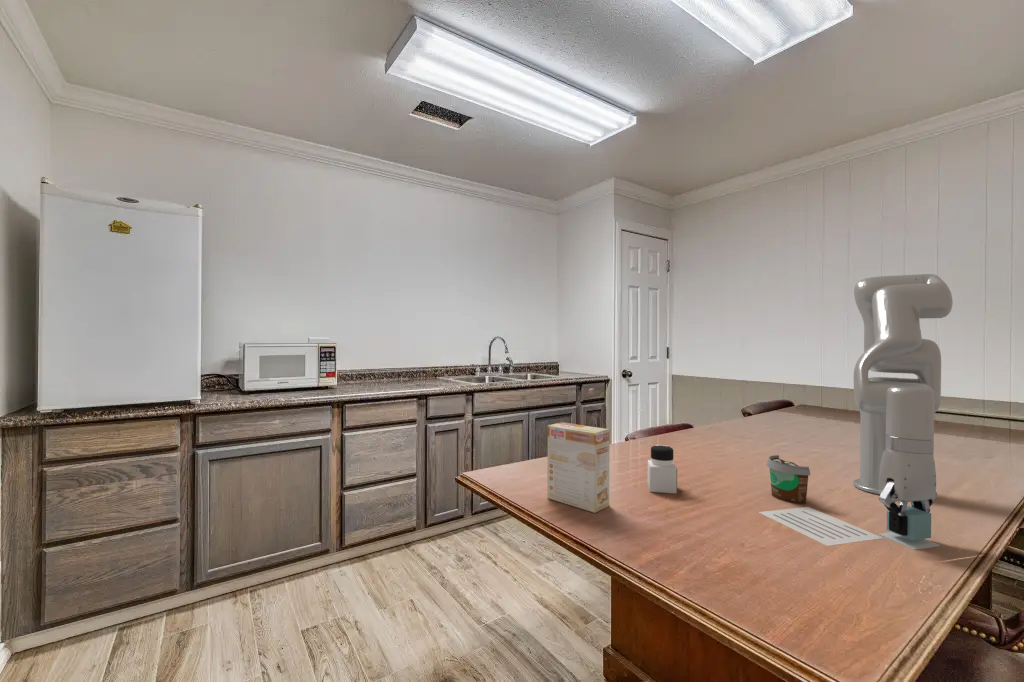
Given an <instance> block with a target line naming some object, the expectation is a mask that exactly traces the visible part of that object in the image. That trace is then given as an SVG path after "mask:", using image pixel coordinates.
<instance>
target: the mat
mask: <svg viewBox="0 0 1024 682" xmlns="http://www.w3.org/2000/svg"><path fill="white" fill-rule="evenodd" d="M877 536H880V537H882V538H883V539H887V540H890V541H891V542H895V543H897V544H899V545H902V546H904V547H907V548H909V549H911V550H914V551H916V550H922V549H930V548H936V547H940V546H941V545H940V544H938V543H936V542H934V541H931V540H928V539H927V538H926V539H919V540H911V539H908V538H906V537H903V536H901V535H898V534H896V533H893V532H891V531H889V532H882V533H878V534H877Z"/></svg>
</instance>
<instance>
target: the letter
mask: <svg viewBox="0 0 1024 682" xmlns="http://www.w3.org/2000/svg"><path fill="white" fill-rule="evenodd" d="M758 513H759V514H761V515H763V516H765V517H767V518H769V519H771V520H774V521H775V522H777V523H780V524H782V525H783V526H786V527H788V529H789V528H790V529H791V530H794V531H796V532H798V533H799V534H802V535H804V536H806V537H809V538H810V539H812V540H814V541H816V542H818V543H820V544H822V545H824V546H826V547H827V546H835V545H843V544H849V543H850V544H851V543H860V542H864V541H873V540H874V541H875V540H880V539H883V537H882V536H879V535H878V534H874V533H872V532H870V531H868V530H865V529H863V528H861V527H858V526H855V525H853V524H851V523H849V522H846V521H843V520H842V519H839V518H836V517H834V516H831V515H829V514H827V513H825V512H822V511H819V510H818V509H815V508H812V507H810V506H805V507H804V506H803V507H795V508H786V509H785V508H784V509H776V510H768V511H767V510H766V511H765V510H764V511H758Z"/></svg>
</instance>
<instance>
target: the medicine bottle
mask: <svg viewBox="0 0 1024 682" xmlns="http://www.w3.org/2000/svg"><path fill="white" fill-rule="evenodd" d="M647 486H648V489H649V492H650V493H658V494H659V493H661V494H674V495H677V494H678V467H677V465H676V463H674V448H673V447H671V446H668V445H663V444H655V445H652V446H651V447H650V459H648V460H647Z"/></svg>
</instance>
